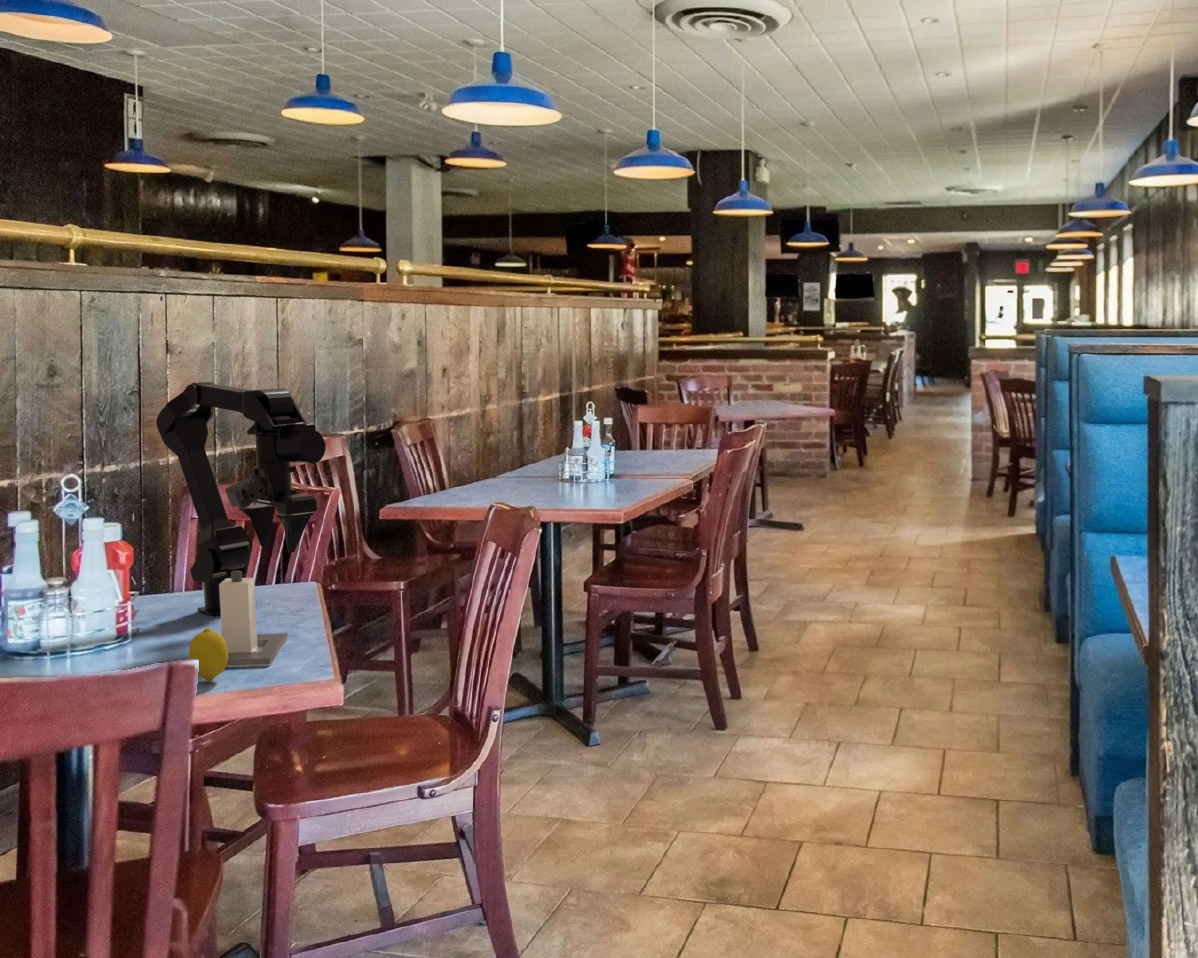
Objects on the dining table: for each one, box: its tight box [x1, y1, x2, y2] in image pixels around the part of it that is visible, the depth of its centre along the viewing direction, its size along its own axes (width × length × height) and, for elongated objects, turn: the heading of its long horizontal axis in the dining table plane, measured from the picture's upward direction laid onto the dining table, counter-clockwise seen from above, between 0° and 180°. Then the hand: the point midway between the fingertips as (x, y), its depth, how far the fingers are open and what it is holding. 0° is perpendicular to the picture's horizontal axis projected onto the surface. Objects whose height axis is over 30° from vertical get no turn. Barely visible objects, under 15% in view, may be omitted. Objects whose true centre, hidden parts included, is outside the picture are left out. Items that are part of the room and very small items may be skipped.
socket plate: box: [220, 632, 288, 668], centre depth 197 cm, size 16×12×1 cm
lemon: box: [188, 627, 228, 682], centre depth 181 cm, size 6×6×8 cm
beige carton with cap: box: [219, 571, 258, 653], centre depth 196 cm, size 5×4×13 cm
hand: (277, 549), depth 217 cm, fingers open, 9 cm apart
